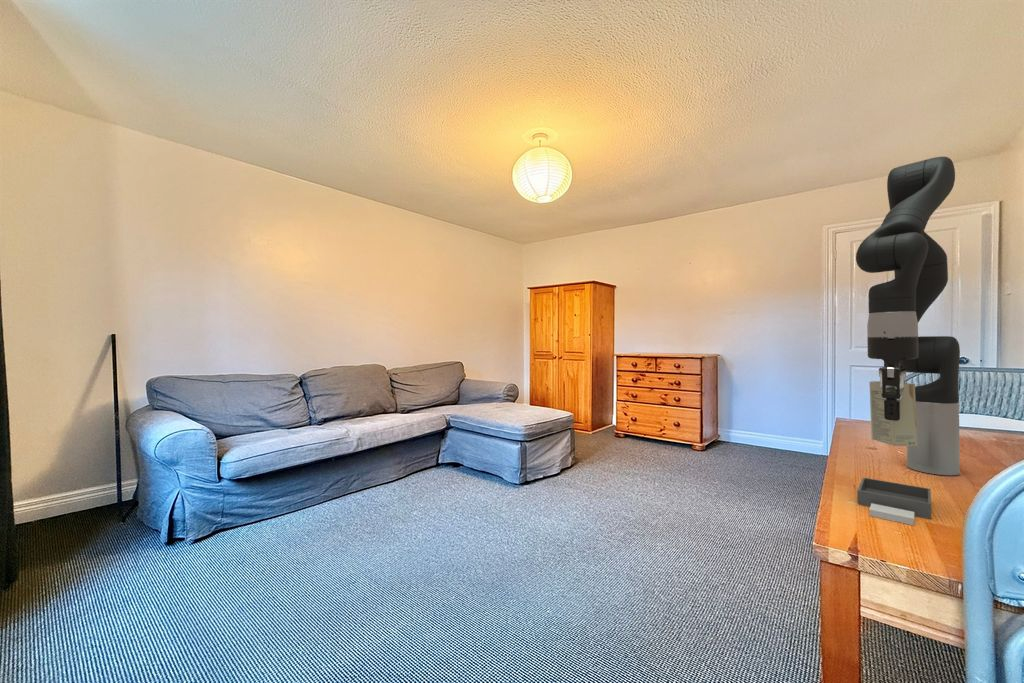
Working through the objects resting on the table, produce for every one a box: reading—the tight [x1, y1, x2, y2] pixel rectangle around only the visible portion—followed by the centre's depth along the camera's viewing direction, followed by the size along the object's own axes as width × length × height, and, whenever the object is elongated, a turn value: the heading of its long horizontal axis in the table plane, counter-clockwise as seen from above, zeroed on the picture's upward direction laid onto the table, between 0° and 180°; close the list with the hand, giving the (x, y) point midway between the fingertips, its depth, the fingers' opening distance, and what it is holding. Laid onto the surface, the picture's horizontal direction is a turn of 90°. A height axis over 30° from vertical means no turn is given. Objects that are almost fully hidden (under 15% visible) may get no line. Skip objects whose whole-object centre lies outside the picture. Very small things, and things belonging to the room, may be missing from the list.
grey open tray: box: [857, 477, 932, 526], centre depth 81 cm, size 16×10×3 cm, turn 135°
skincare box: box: [869, 380, 917, 447], centre depth 83 cm, size 6×4×12 cm
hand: (893, 417), depth 83 cm, fingers closed on skincare box, 7 cm apart
